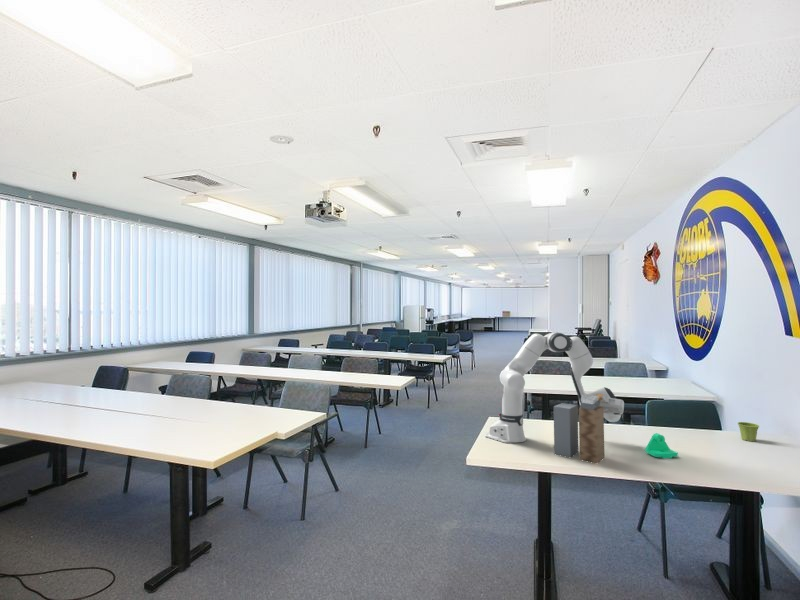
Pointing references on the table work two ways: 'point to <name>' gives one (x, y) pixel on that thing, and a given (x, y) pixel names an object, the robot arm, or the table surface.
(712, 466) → the table surface
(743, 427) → the plant pot
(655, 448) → the camera mount
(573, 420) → the grey stand
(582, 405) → the wood and grey block
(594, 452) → the walnut stand
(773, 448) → the table surface
